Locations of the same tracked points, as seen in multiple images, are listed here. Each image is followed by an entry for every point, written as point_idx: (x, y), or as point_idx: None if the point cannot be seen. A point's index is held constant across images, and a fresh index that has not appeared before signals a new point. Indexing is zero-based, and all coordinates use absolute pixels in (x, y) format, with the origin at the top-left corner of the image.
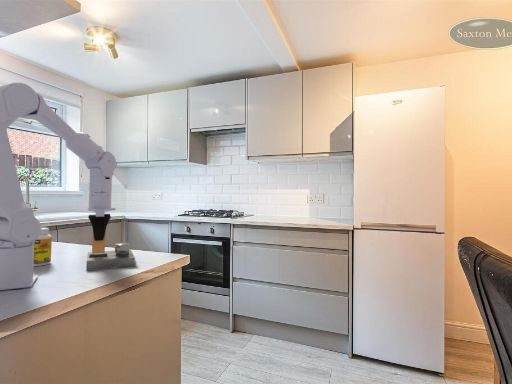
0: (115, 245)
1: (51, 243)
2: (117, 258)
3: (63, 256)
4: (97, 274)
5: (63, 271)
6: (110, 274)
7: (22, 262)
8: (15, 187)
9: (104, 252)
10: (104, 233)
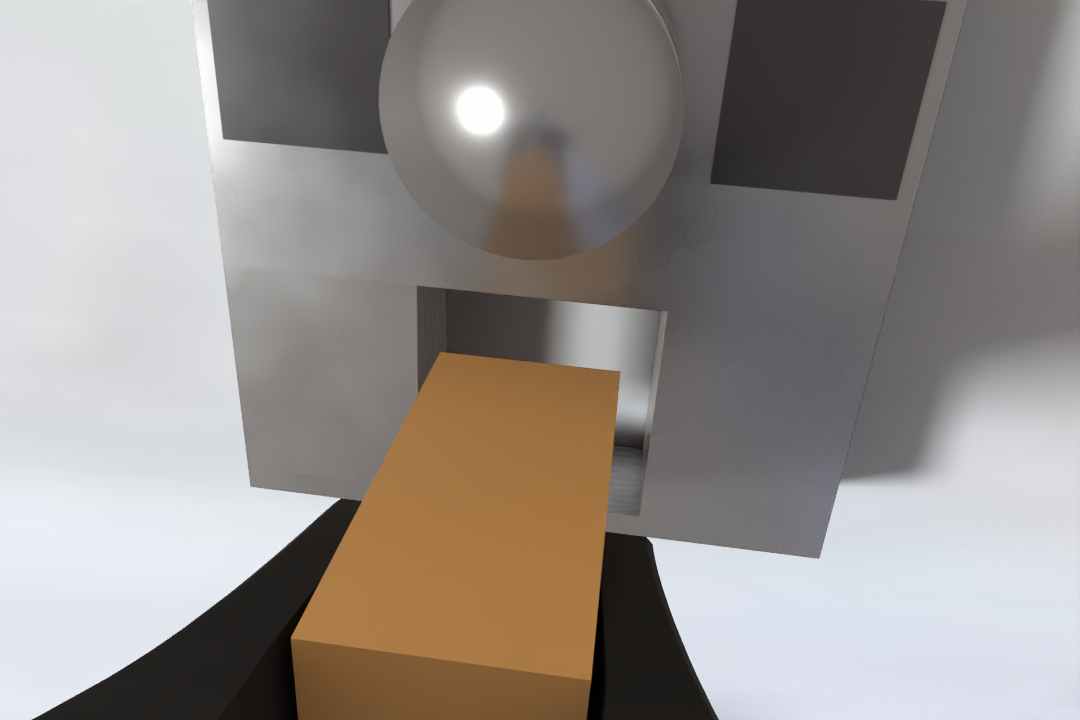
0: (574, 251)
1: None
2: (896, 200)
3: (17, 594)
4: (1067, 410)
5: (711, 643)
6: None
7: None
8: None
9: (619, 376)
10: (676, 630)
